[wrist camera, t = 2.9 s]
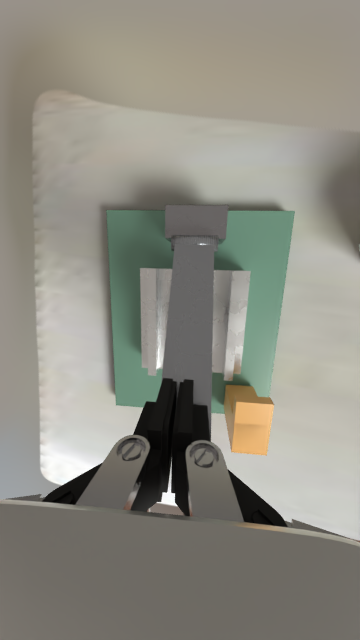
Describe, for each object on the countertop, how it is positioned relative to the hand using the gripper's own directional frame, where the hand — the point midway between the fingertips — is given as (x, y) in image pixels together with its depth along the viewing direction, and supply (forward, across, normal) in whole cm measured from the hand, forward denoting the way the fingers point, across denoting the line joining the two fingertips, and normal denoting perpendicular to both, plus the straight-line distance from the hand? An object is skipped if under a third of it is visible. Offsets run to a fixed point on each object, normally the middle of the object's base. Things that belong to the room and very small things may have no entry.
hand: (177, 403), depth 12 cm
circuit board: (+14, -1, -2) cm, 14 cm away
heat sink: (+12, -1, -5) cm, 13 cm away
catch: (+12, -6, +6) cm, 14 cm away
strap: (+4, 0, -3) cm, 5 cm away
